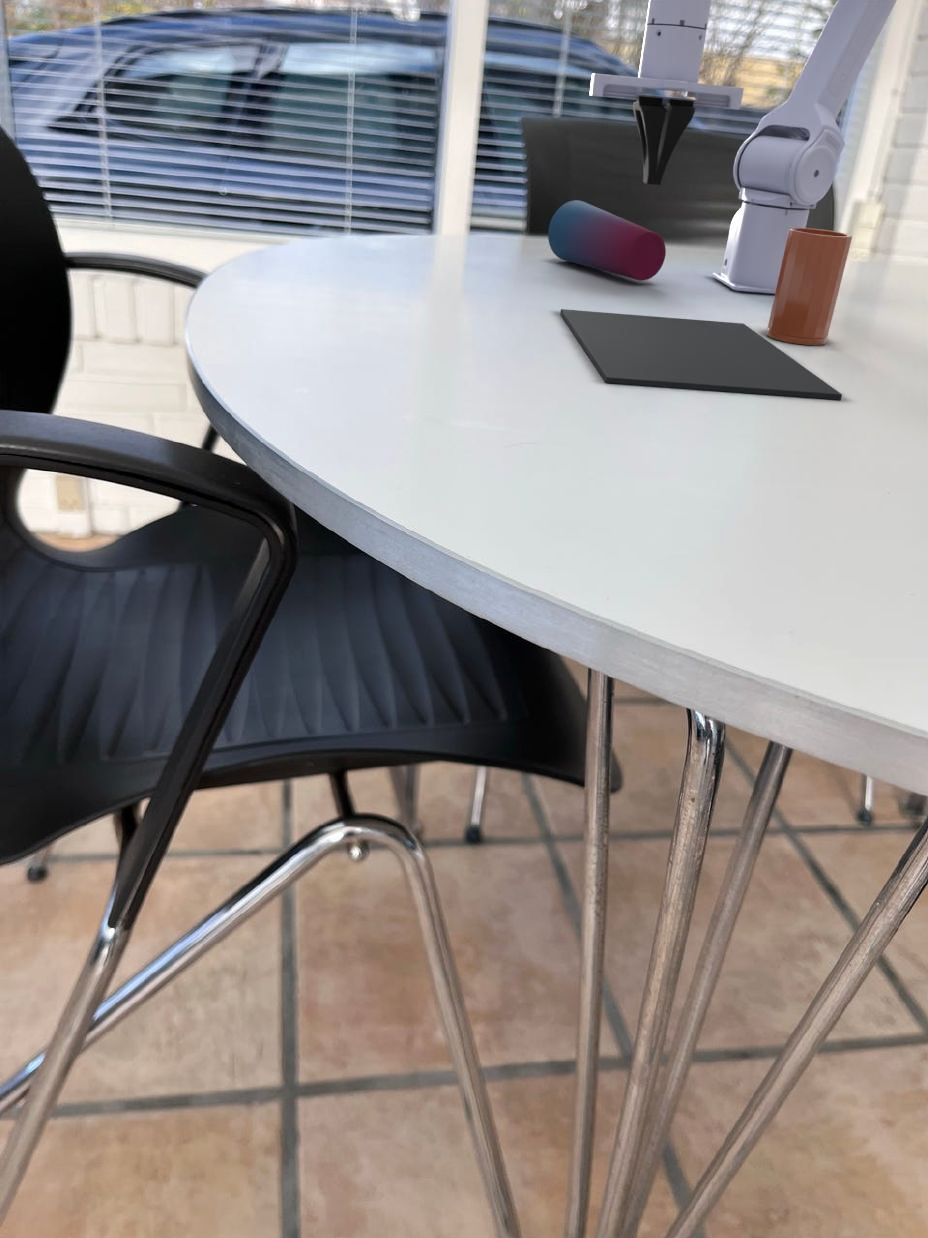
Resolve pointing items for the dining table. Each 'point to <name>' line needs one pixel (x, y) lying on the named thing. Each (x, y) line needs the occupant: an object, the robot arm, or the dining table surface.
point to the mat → (690, 355)
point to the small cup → (808, 285)
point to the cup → (605, 241)
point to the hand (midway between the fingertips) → (651, 183)
